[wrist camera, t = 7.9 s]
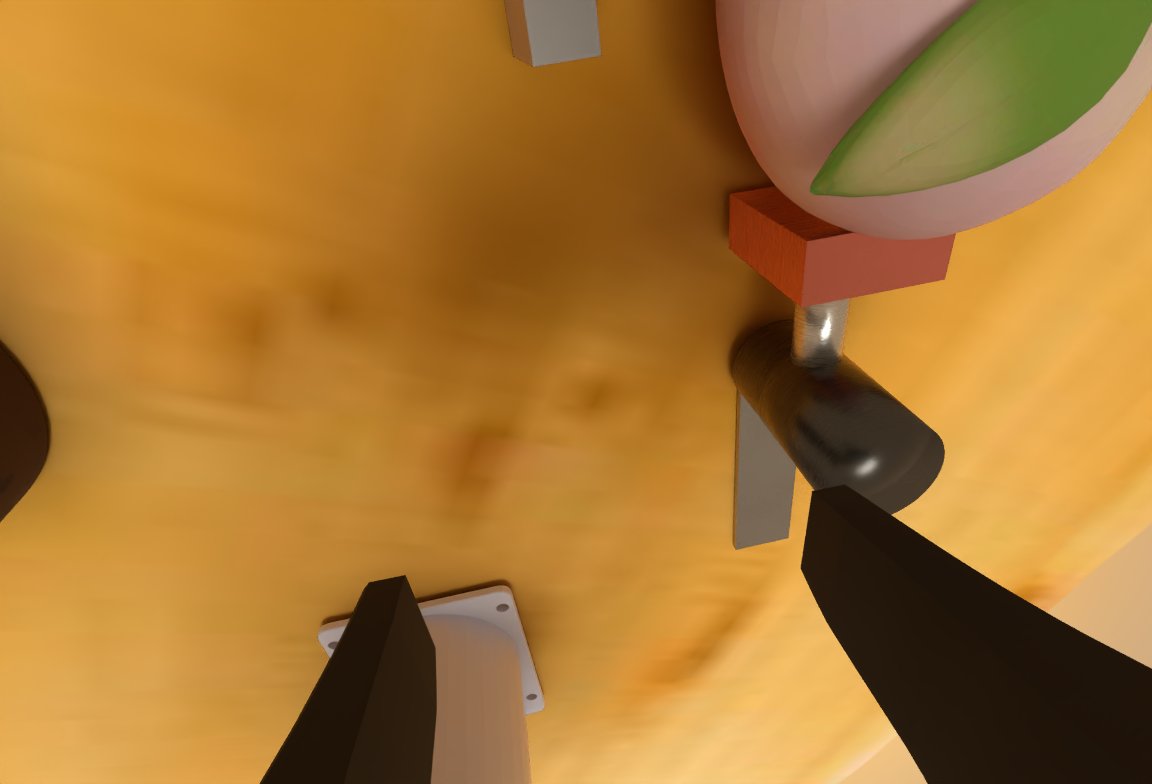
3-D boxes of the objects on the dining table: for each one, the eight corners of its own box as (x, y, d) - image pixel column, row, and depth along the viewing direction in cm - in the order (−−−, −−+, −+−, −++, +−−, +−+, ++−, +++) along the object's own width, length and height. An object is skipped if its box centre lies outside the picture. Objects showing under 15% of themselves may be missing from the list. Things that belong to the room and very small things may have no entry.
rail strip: (785, 532, 25) (788, 538, 25) (733, 544, 25) (735, 549, 25) (802, 357, 20) (806, 362, 20) (737, 371, 20) (741, 375, 20)
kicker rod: (822, 390, 21) (937, 505, 16) (726, 410, 20) (811, 534, 15) (850, 172, 16) (1018, 233, 11) (729, 194, 16) (848, 266, 11)
